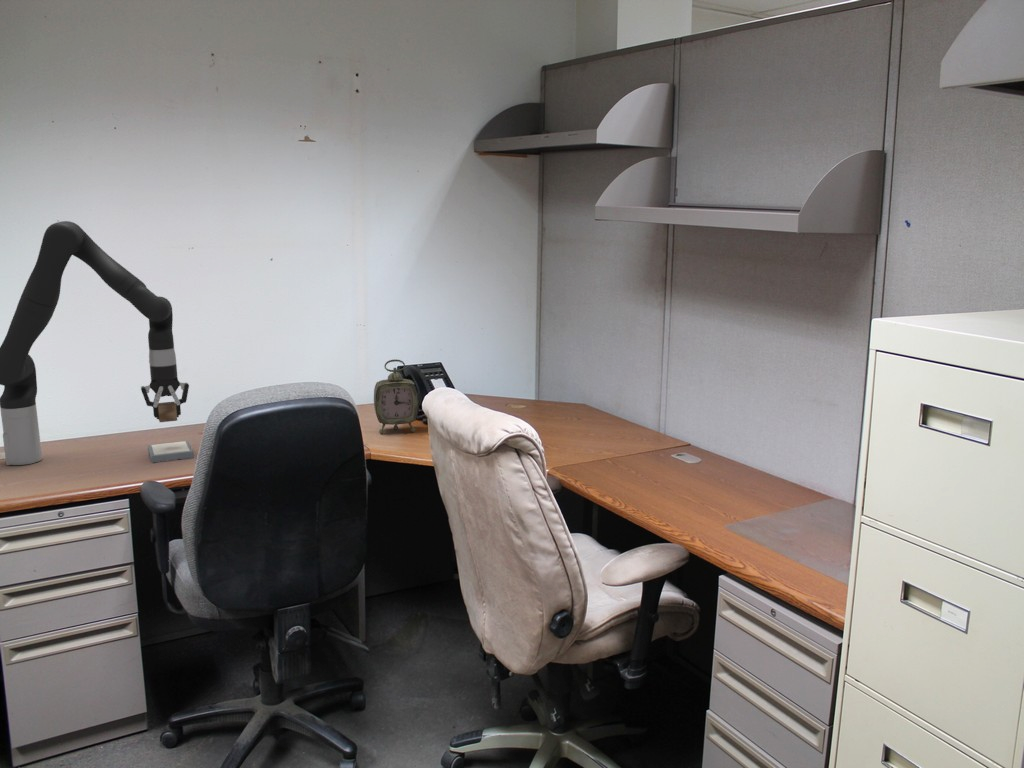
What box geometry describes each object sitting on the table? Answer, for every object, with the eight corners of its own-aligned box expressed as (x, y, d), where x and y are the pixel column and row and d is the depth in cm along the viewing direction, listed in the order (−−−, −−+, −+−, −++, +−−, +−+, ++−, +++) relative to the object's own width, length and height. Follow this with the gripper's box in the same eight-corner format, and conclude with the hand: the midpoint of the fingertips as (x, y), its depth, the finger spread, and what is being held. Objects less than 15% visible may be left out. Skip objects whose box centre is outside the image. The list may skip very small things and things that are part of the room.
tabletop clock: (376, 435, 283) (373, 362, 278) (374, 429, 291) (371, 358, 286) (419, 433, 286) (417, 360, 281) (415, 426, 294) (414, 356, 289)
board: (151, 463, 251) (150, 455, 251) (148, 451, 264) (147, 444, 263) (194, 457, 257) (193, 450, 256) (188, 446, 269) (188, 440, 269)
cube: (159, 422, 255) (158, 406, 254) (158, 418, 259) (157, 403, 258) (177, 420, 257) (176, 404, 256) (175, 417, 261) (174, 401, 260)
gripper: (137, 367, 248) (143, 423, 251) (189, 363, 254) (193, 417, 258) (136, 363, 255) (141, 417, 258) (186, 359, 261) (191, 412, 264)
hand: (167, 417), depth 258 cm, fingers closed on cube, 5 cm apart
